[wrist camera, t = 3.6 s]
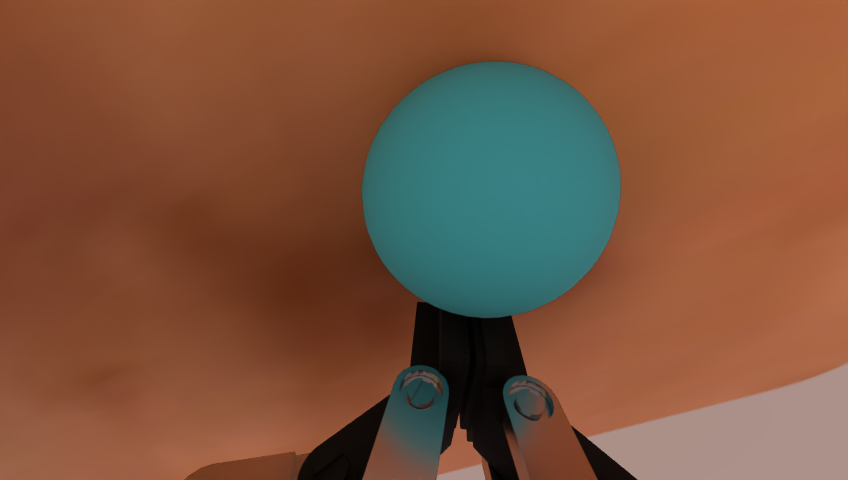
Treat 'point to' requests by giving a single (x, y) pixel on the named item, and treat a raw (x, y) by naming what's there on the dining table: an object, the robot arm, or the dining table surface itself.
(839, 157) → the dining table surface
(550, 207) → the ball
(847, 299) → the dining table surface
